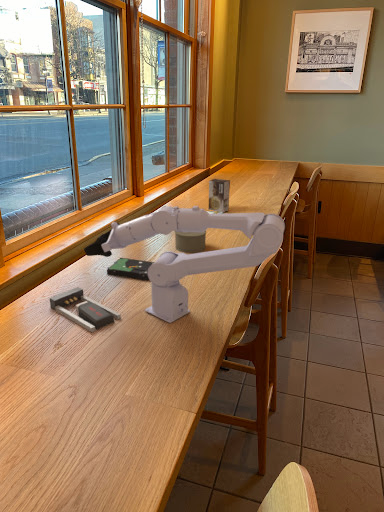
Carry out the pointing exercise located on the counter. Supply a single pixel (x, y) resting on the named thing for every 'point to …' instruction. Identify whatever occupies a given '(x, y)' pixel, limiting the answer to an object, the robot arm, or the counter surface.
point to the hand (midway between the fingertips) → (93, 246)
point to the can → (190, 241)
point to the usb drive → (94, 314)
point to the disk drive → (130, 268)
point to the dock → (72, 297)
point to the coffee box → (219, 195)
